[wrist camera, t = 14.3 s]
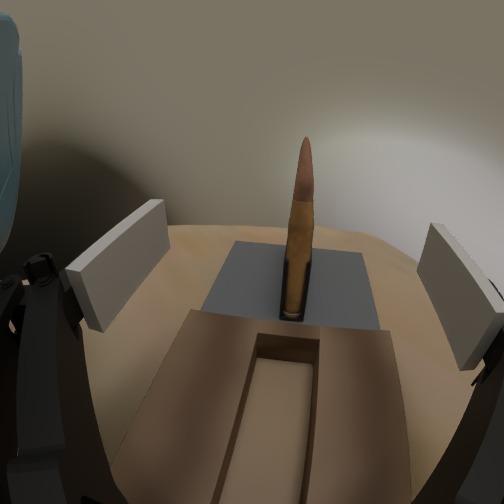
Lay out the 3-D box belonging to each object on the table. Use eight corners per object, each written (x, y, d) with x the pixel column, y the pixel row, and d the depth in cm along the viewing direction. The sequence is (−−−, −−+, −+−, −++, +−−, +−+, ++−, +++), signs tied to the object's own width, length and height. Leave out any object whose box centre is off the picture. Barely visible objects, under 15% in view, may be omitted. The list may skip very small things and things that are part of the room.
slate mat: (196, 329, 21) (195, 319, 21) (235, 248, 32) (235, 240, 32) (378, 349, 19) (382, 340, 19) (359, 260, 30) (361, 253, 30)
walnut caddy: (107, 527, 7) (85, 521, 6) (194, 333, 21) (190, 309, 20) (384, 569, 5) (406, 569, 4) (379, 354, 19) (389, 330, 17)
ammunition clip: (303, 322, 21) (322, 157, 15) (278, 320, 21) (289, 154, 15) (306, 252, 30) (316, 136, 24) (289, 250, 30) (296, 134, 24)
